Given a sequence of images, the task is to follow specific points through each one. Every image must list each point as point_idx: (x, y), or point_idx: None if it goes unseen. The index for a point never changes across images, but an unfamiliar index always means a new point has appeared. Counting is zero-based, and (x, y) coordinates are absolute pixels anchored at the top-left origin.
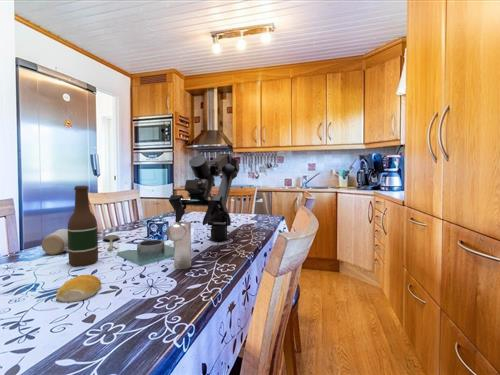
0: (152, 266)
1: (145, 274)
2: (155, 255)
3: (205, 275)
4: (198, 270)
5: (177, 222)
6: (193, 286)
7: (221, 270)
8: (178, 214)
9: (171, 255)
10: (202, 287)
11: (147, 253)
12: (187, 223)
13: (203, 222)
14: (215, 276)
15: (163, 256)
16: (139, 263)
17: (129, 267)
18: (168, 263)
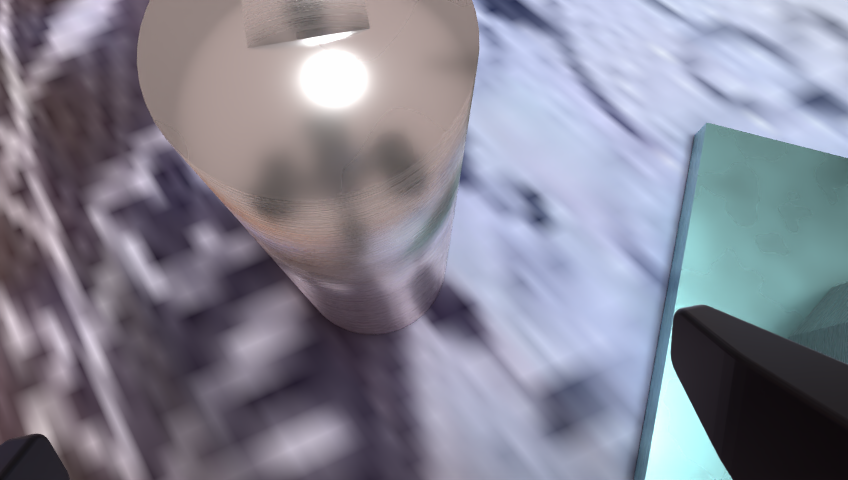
0: (598, 163)
1: (512, 32)
2: (763, 321)
3: (93, 177)
4: (195, 238)
5: (441, 56)
6: (88, 10)
7: (9, 314)
8: (830, 419)
9: (649, 423)
10: (27, 19)
11: (844, 285)
12: (183, 51)
13: (3, 452)
14: (11, 190)
15: (671, 333)
16: (715, 131)
17: (736, 81)
18: (535, 270)
